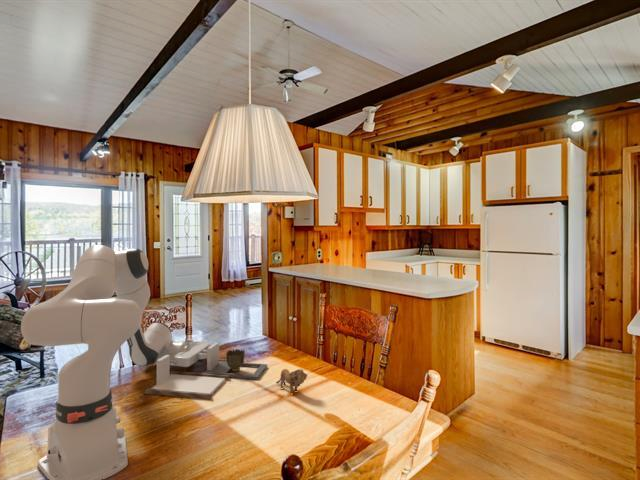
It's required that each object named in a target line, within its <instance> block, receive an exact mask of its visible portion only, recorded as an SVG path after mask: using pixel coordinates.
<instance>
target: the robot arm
mask: <svg viewBox="0 0 640 480" xmlns="http://www.w3.org/2000/svg"><path fill="white" fill-rule="evenodd" d="M79 257H80V258H79V259H78V260H77V263H76V265H75V268H74V271H73V273H72V277H71V279H70V282H69V284H68V285H67V286H66V287H65V288H64V289H63V290H62V291H60V292H59V293H58V294H56V295H54V296H53V297H51V298H49V299H46V300H45V301H43V302H41V303H38V304H35V305H33V306H31V307H30V308H29V309H28V310H27V311H26V312H25V313H24V315H23V317H22V319H21V321H20V332H21V335H22V337H23V339H24V340H25V341H26V342H27V343H28V344H29V345H32V346H41V347H42V346H44V347H58V346H59V347H60V346H69V345H70V346H71V345H82V344H83V345H87V349H86V350H85V351H84V352H82V353H81V354H79V355H77V356H75V357H73V358H72V359H70V360H68V361H66V363H64V364H63V366H61V368H60V370H59V371H58V372H59V373H58V387H57V388H58V392H57V395H58V397H57V398H58V399H57V400H56V403H55V410H54V411H55V420H53V423H51V424H50V426H49V427H48V430H47V431H48V432H47V451H46V455H45V456H42V457H41V458H39V460H38V462H37V467H38V469H39V470H40V471H41V472H42V473H43V475H44V476H45V477H46V478H47V480H48V479H49V480H102V479H103V480H106V479H107V478H109V477H112V476H113V475H116V474H117V473H119V472H121V471H122V470H124V469H125V468H126V467H127V466H128V464H129V462H128V461H129V460H128V450H127V441H126V440H127V438H126V433H125V427H120V428H117V424H120V423H121V417H117V408H115V407H114V406H113V395H112V393H113V392H112V389H111V384H110V383H111V374H112V365H113V361H114V358H115V356H116V354H117V352H118V351H119V349H120V348H121V347H122V345H123V344H124V343H125V342H126V343H127V346H128V350H129V351H128V354H129V357H130V359H131V361H132V363H133V364H135V365H137V366H139V367H148V366H151V365H153V364H156V363H157V360H158V359H160V358H162V357H163V356H165V355H170V365H172V364H173V365H174V366H176V367H182V368H189V367H190V366H192V365H194V363H197V362H196V361H197V360H199V359H205V358H207V348H209V347H210V346H211V343H210V342H205V341H199V340H198V341H196V340H195V341H194V339H188V340H185V341H172V340H173V339H172V332H171V329H170V327H169V325H168V324H166V323H163V322H152V323H150V325H148V327H147V328H146V330H143V329H142V321H143V314H144V311H145V309H146V307H147V306H148V303H149V301H150V299H151V298H150V297H151V288H150V285H149V282H148V281H147V279H146V277H145V276H146V274H147V273H148V272H149V259H148V257H147V255H146V254H145V253H144V251H143V250H141V249H139V248H128V249H126V250H119V251H114V250H113V249H112V248H111V247H109V246H107V245H103V244H95V245H92V246H90V247H88V248H86V249H85V251H84V252H83V253H82V254H81V256H79ZM113 295H116V297H117V298H116V297H114V298H112V297H113Z"/></svg>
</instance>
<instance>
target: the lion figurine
mask: <svg viewBox="0 0 640 480" xmlns="http://www.w3.org/2000/svg"><path fill="white" fill-rule="evenodd" d="M307 378H308V374H307V373H305V372H304V369H303V368H299V369H297V370H294V371H291V372H290V371H289V369H286V368H283V369H282V370H281V372H280V378H279V380H277V381H276V382H275V383H276V384H279V383H280V387H281V388H283V389H284V386H283V383H287V384H289V390H290V393H294V392H295V391H297V390H298V388H299V387H300V386H301V384H302V385H303V384H304V382H305V381H306V380H307ZM290 393H289V394H290Z"/></svg>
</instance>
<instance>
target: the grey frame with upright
mask: <svg viewBox="0 0 640 480" xmlns="http://www.w3.org/2000/svg"><path fill="white" fill-rule="evenodd" d="M219 359H220V342H214V343H212V345H211V346H210V347H209V348H207V362H206V370H205V371H204V372H203V373H206V374H219V375H230V378H235V379H246V378H249V379H248V380H258V379H259V378H260V377H261V376H260V375H262V374H263V373H264V372H265V371H266V369H267V368H268V364H267V363H254V362H253V363H252V362H244V363H243V365H242V366H241V367H250V366H257V367H256V370H255V372H254V373H253V374H241V373H230V372H232V371H231V368H230V367H229V366H228V363H227V361H219ZM266 367H267V368H266ZM265 368H266V369H265ZM263 371H264V372H263ZM262 372H263V373H262ZM259 376H260V377H259Z"/></svg>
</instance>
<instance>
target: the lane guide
mask: <svg viewBox="0 0 640 480" xmlns="http://www.w3.org/2000/svg"><path fill="white" fill-rule="evenodd" d="M219 361H227V358H226V359H224V358H222V359H221V358H219ZM195 363H207V358H205V359H199V360H197V361H196V362H195ZM243 363H245V360H244V361H243ZM171 374H176V375H189V376H202V377H215V378H225V381H230V380H231V377H230V375H219V374H206V373H204V372H192V371H191V372H190V371H179V370H178V371H177V370H171V371H170V375H171ZM229 379H230V380H229ZM151 388H152V387H150V388H149V387H148V388H147V387H146V388H145V390H144V391H145V392H144V394H147V395H157V396H166V397H167V396H168V397H169V396H170V397H178V398H179V397H180V398H193V399H203V400H212V395H213V394H210V393H198V392H186V391H174V390H163V389H151Z"/></svg>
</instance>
